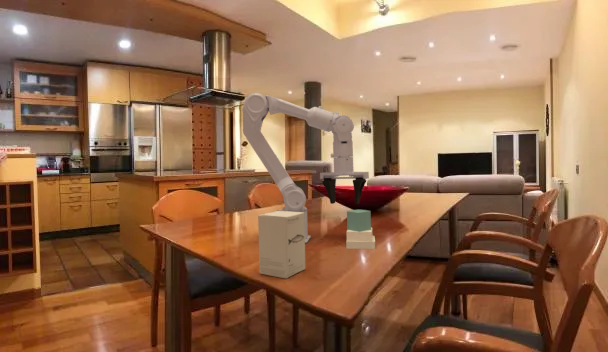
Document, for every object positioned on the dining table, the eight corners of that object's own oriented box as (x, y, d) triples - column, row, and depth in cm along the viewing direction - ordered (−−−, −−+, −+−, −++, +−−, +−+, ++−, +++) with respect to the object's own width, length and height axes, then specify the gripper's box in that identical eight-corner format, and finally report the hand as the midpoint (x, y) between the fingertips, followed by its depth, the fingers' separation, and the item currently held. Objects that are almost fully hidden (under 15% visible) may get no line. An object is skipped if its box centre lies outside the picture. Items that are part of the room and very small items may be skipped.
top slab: (346, 240, 100) (346, 231, 100) (349, 235, 106) (348, 227, 106) (371, 241, 98) (371, 231, 98) (372, 236, 105) (372, 227, 104)
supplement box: (287, 279, 75) (285, 216, 74) (258, 274, 79) (256, 214, 78) (306, 269, 81) (305, 211, 81) (278, 265, 85) (277, 209, 85)
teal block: (347, 229, 102) (346, 211, 102) (359, 227, 105) (358, 209, 105) (359, 231, 99) (358, 212, 99) (370, 229, 101) (370, 210, 101)
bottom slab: (346, 250, 99) (346, 241, 99) (347, 244, 107) (347, 235, 106) (375, 251, 98) (375, 241, 98) (374, 244, 105) (374, 235, 105)
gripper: (314, 158, 109) (316, 204, 110) (362, 156, 103) (364, 205, 103) (324, 157, 116) (326, 201, 116) (370, 156, 109) (371, 202, 110)
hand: (344, 203), depth 110 cm, fingers open, 7 cm apart
